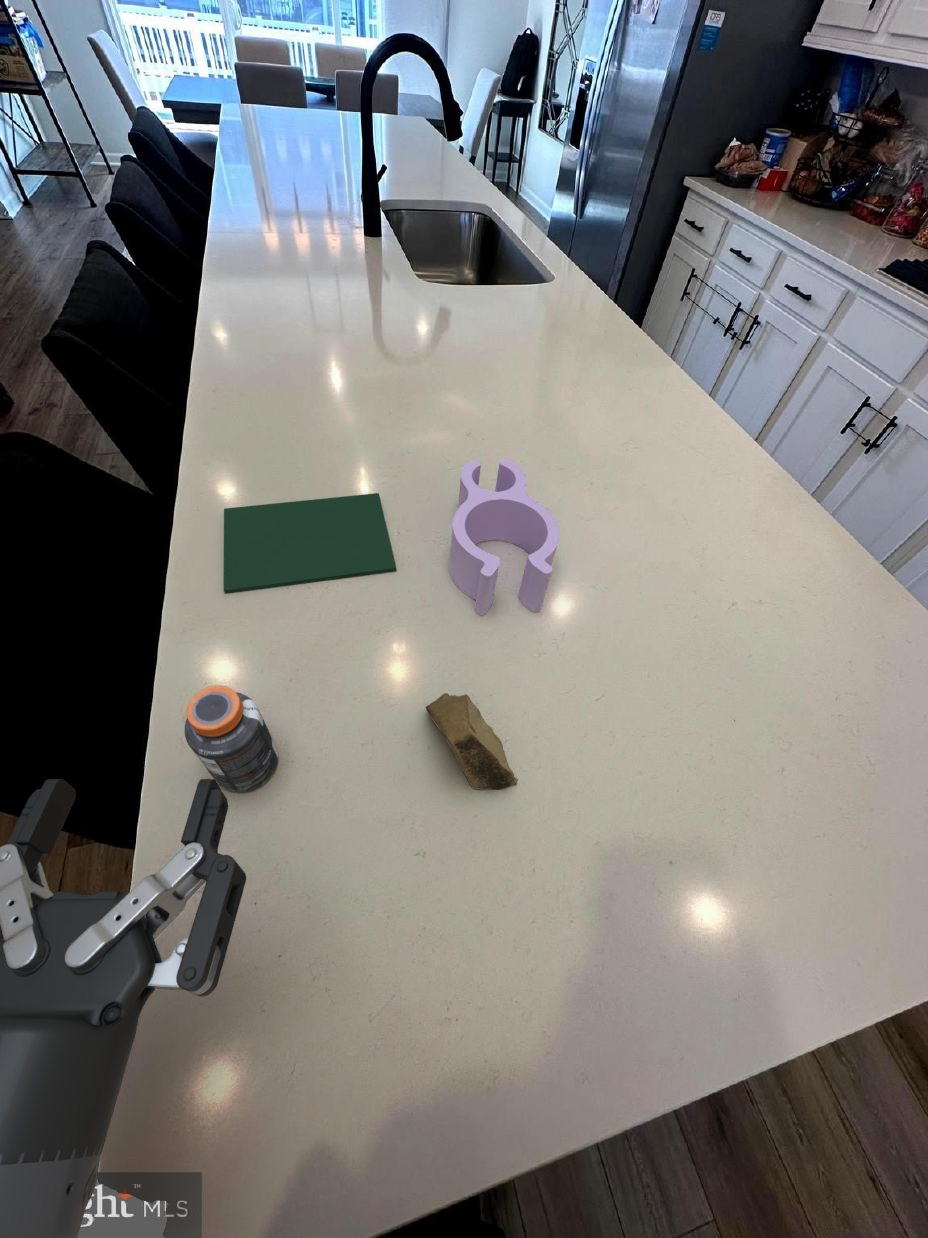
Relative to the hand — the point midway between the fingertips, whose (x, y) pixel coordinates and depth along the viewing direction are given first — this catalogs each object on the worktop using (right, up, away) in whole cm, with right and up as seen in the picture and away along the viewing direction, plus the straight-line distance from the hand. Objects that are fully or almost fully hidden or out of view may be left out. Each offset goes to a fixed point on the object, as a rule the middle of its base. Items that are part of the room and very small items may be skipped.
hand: (137, 784), depth 33 cm
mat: (0, +20, +38) cm, 43 cm away
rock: (+20, -3, +23) cm, 30 cm away
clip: (+23, +18, +39) cm, 49 cm away
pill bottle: (-1, -4, +20) cm, 20 cm away
